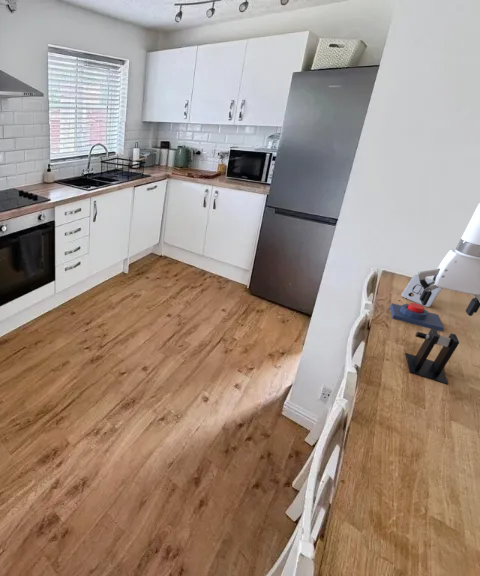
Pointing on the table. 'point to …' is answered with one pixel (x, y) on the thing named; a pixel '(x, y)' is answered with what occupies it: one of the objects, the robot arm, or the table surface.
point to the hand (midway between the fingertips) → (445, 308)
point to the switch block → (416, 317)
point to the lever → (441, 340)
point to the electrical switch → (419, 291)
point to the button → (415, 307)
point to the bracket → (427, 367)
